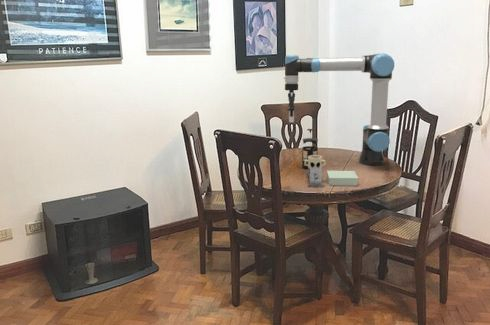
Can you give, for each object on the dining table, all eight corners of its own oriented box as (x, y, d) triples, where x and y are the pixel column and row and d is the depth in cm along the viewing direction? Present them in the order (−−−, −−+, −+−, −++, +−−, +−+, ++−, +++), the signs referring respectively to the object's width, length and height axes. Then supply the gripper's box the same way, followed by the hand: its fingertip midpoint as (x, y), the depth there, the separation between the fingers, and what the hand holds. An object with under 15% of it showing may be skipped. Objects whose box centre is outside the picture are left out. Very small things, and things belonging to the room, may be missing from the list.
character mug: (304, 182, 237) (304, 158, 234) (303, 178, 244) (304, 155, 241) (325, 182, 236) (326, 158, 233) (324, 178, 243) (324, 155, 240)
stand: (353, 178, 243) (354, 170, 242) (358, 185, 229) (358, 178, 228) (326, 177, 244) (326, 170, 243) (328, 185, 230) (329, 177, 229)
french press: (316, 170, 260) (317, 130, 255) (300, 169, 263) (300, 130, 257) (319, 165, 271) (320, 127, 266) (303, 164, 274) (304, 127, 268)
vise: (320, 174, 251) (320, 158, 249) (324, 187, 227) (324, 170, 225) (305, 174, 251) (306, 158, 249) (308, 187, 228) (308, 170, 225)
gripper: (284, 81, 268) (284, 117, 273) (284, 84, 244) (284, 123, 249) (297, 81, 268) (297, 117, 273) (298, 84, 244) (298, 123, 249)
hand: (291, 120), depth 261 cm, fingers open, 13 cm apart
